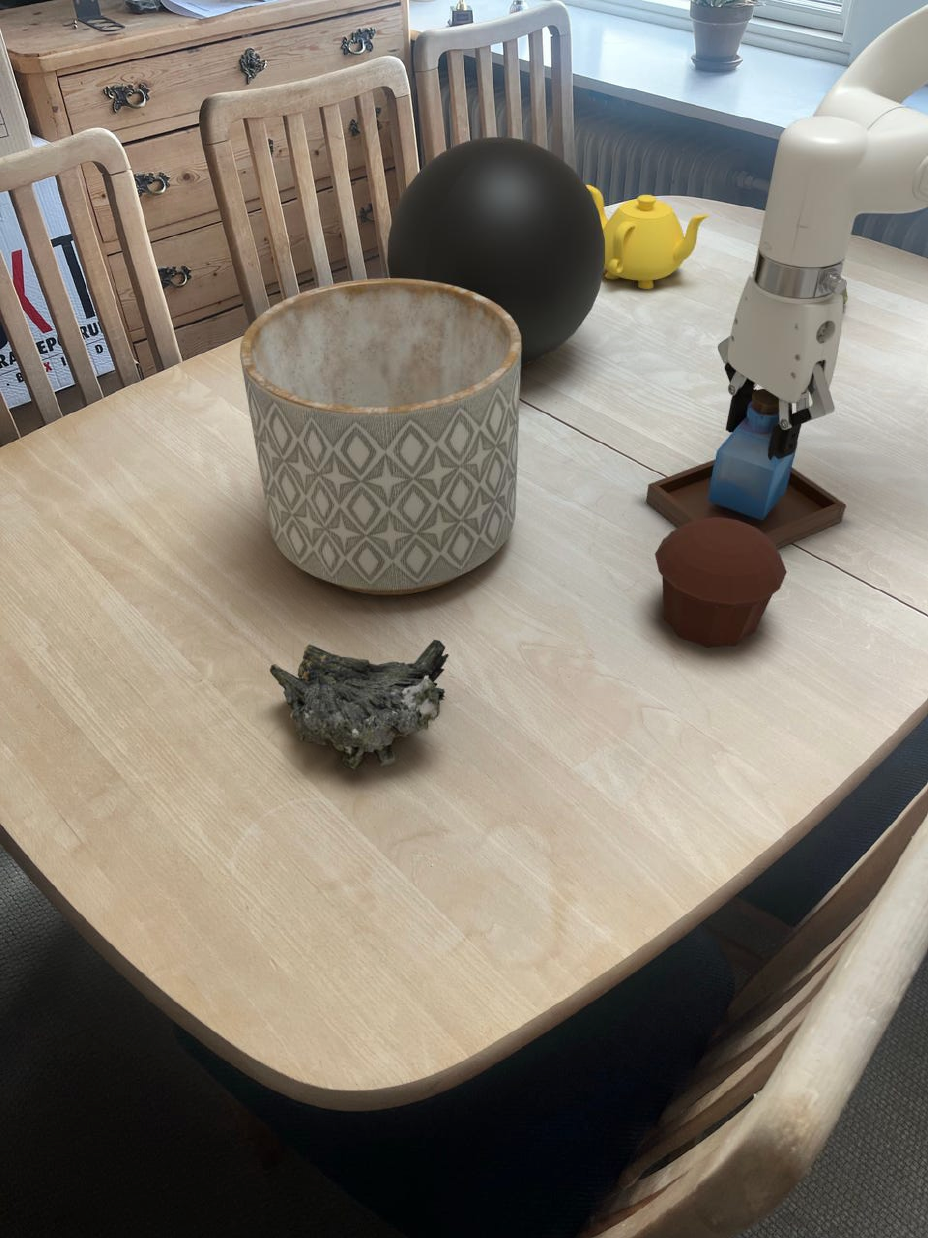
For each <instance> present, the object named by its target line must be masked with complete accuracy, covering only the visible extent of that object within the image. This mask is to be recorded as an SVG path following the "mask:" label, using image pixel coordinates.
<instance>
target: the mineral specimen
mask: <svg viewBox="0 0 928 1238" xmlns="http://www.w3.org/2000/svg"><path fill="white" fill-rule="evenodd" d="M445 649H446V645H444V644H443V643H442V642H441V641H440V640H439V639H433V640H432V641H431V642H430V644H429V645H428V646H427V647H426V648H425V649H424V650H423V652H422V653H421V654H420V655H419V657H418V658H417V659H416V660H415V661H414V662H409V663H405V662H399V661H390V662H385V663H379V664H374V663H370V660H369V659H366V658H365V659H364V658H362V659H361V658H355V657H349V656H341V655H340V654H334V653H331V652H329V651H326V650H324V649H322V648H320V647H317V646H315V645H314V644H313V645H312V644H311V643H309V644H308V645H307V646H306V647H305V648H304V652H303V656H302V661H301V663H299V667H298V669H297V676H298V677H297V676H295V675H294V674H292V673H290V672H289V671H286V670H285V669H282V667H280V666H278V665H277V664H276V663H273V664H271V665H270V668H269V673H270V674H271V675H272V677H273V678H274V679H275V680H276V681H277V682H278V685H279V686H281V687H282V688H283V689H284V690H283V695H284V697H285V700H286V701H285V702H286V704H287V706H288V708H290V709H291V710H292V711H291V713H290V716H289V718H291V719H293V720H294V722H295V731H297V733H298V736H299V737H298V738H299V740H300V741H302V742H304V743H307V744H310V743H311V742H313V743H315V744H317V745H322V746H327V747H328V746H334V748H335V749H336V750H337V751H338V752H339V751H340V752H345V755H344V756H343V758H342V762H343V764H344V765H345V766H346V767H349V768H351V769H353V770H356V769H357V767H358V766H359V765H360V762H363V761H364V760H365V759H366V755H368V754H369V753H373V754H374V756H375V757H376V761H377V763H378V764H379V765H380V766H386V765H390V764H393V763H394V762H395V760H396V758H395V755H394V752H393V745H392V742H393V740H394V738H396V737H404V738H407V737H408V735H409V734H412V733H413V734H414V733H418V732H420V731H421V730H428V729H429V721H433V722H434V721H435V719H436V718H437V717H439V715H440V714H441V708H440V707H441V704H440V701H444V700H445V697H446V696H445V692H446V691H445V689H444V688H440V687H437V686H438V683H437V682H436V680H437V679H438V678H439V677H440V676H441V675H442V674H443V672H444V671H445V670H446V669H445V668H442V667H443V666H444V665H445V663H446V662H447V660H448V658H449V656H450V655H449V653H445V654H444V651H445ZM443 654H444V655H443Z"/></svg>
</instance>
